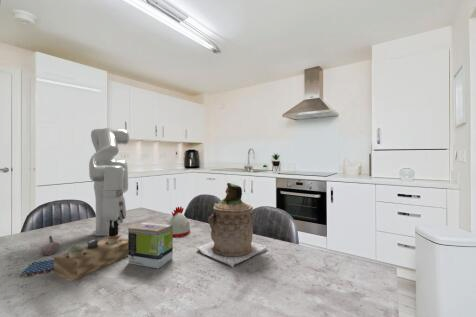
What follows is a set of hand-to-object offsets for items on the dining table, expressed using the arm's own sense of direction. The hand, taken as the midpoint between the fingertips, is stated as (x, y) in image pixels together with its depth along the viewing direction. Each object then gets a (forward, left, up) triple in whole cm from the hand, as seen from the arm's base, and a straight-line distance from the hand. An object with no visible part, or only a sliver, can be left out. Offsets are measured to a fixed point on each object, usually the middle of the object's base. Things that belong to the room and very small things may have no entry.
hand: (113, 235), depth 97 cm
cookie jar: (-28, +44, -9) cm, 53 cm away
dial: (+7, -3, -3) cm, 8 cm away
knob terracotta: (0, 0, -8) cm, 8 cm away
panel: (+7, 0, -9) cm, 12 cm away
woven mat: (+19, -14, -10) cm, 26 cm away
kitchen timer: (-36, +5, -9) cm, 37 cm away
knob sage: (+15, 0, -8) cm, 17 cm away
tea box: (-4, +19, -9) cm, 21 cm away
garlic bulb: (+10, -29, -9) cm, 32 cm away
